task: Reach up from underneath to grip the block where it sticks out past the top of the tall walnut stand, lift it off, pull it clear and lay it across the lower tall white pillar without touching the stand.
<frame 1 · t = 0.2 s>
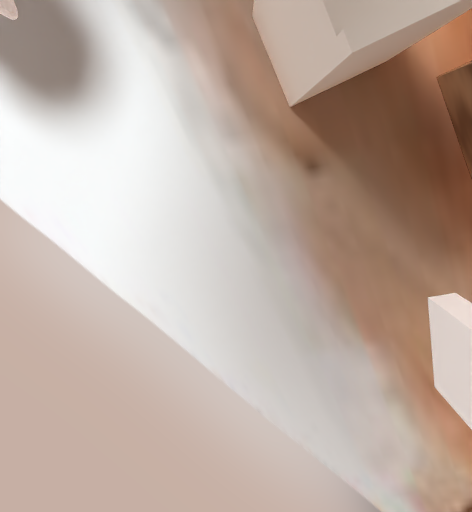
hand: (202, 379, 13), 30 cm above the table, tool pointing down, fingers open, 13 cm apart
tall white pillar: (319, 39, 38), on the table
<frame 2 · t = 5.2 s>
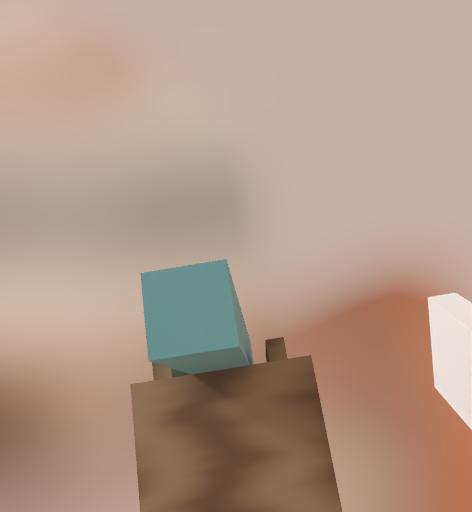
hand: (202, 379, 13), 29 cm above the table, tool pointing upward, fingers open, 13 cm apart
block: (225, 372, 28), point 30 cm above the table, touching stand
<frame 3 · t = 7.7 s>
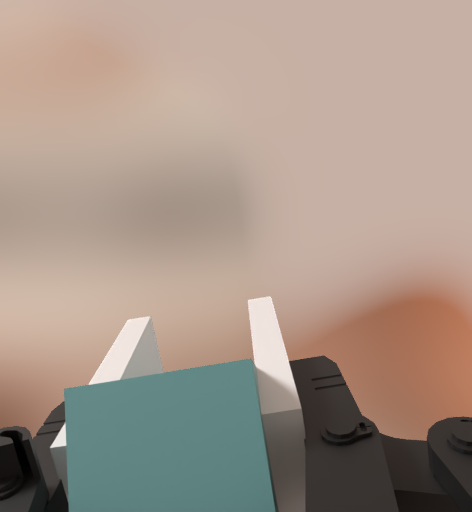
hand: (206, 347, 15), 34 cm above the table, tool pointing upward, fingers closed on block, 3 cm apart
block: (237, 464, 19), point 30 cm above the table, touching gripper, stand
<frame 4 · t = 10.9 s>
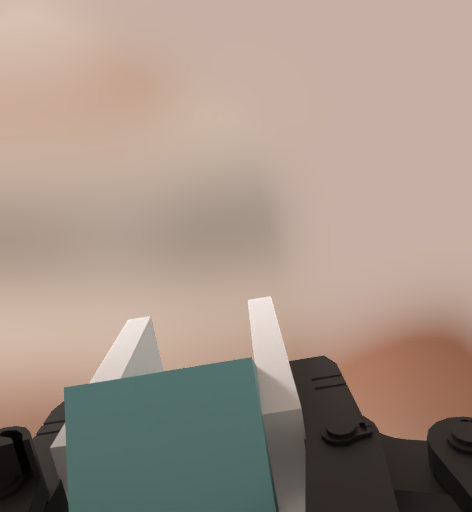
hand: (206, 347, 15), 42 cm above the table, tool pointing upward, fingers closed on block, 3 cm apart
block: (237, 464, 19), point 38 cm above the table, touching gripper
when the fingers open (27 cm above the table, at t = 14.2 s): block drops 2 cm, resting on tall white pillar.
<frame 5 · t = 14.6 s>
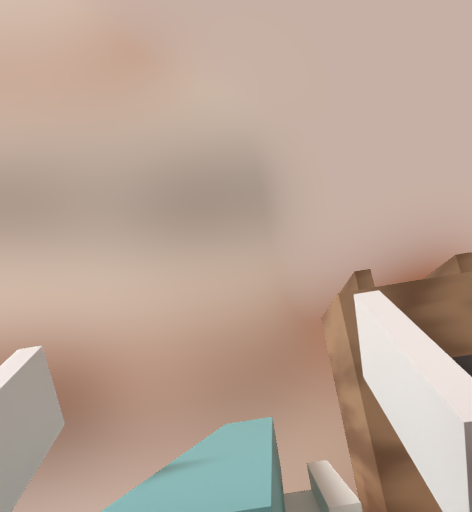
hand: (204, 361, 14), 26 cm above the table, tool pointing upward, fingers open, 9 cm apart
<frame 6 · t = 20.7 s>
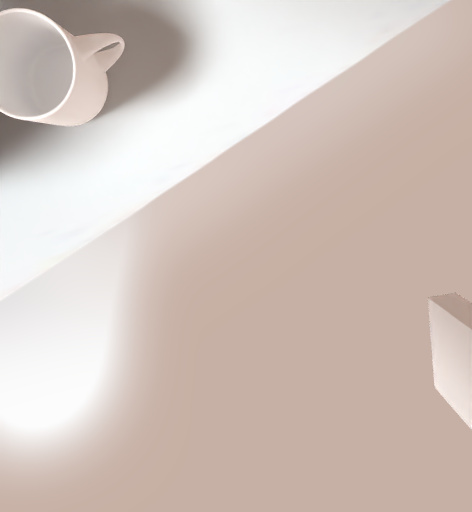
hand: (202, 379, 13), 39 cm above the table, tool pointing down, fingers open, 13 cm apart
mug: (84, 77, 47), on the table
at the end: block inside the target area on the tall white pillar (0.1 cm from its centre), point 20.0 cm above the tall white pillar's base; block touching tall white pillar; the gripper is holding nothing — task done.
